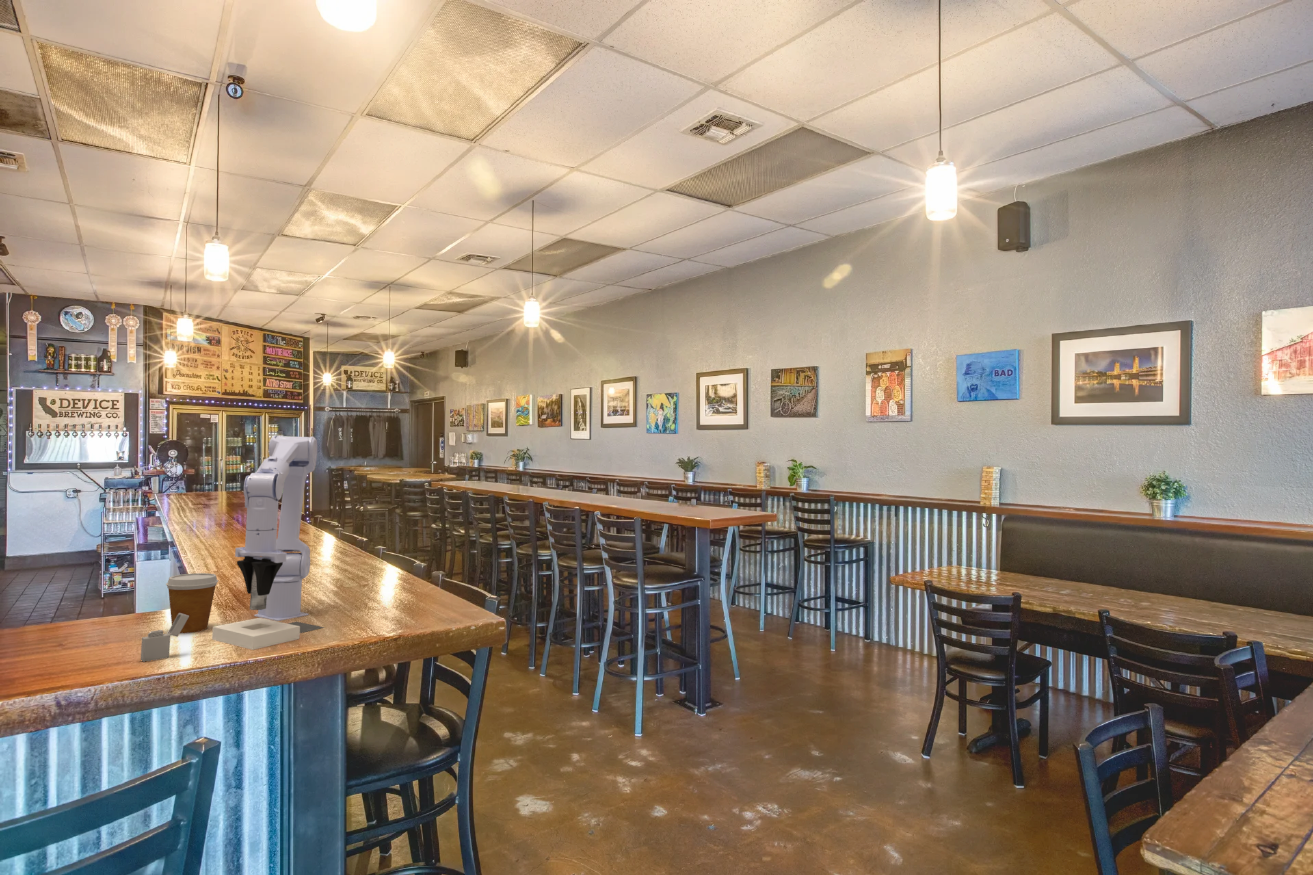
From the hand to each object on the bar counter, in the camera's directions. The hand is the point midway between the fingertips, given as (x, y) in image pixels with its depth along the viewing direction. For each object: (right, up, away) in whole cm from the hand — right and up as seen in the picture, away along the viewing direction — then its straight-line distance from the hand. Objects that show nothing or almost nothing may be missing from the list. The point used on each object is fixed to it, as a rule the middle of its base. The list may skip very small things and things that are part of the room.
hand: (258, 593), depth 142 cm
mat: (+3, -10, +9) cm, 14 cm away
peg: (0, -3, 0) cm, 3 cm away
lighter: (-10, -9, -13) cm, 19 cm away
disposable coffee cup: (-19, -10, +6) cm, 22 cm away
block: (0, -10, 0) cm, 10 cm away
